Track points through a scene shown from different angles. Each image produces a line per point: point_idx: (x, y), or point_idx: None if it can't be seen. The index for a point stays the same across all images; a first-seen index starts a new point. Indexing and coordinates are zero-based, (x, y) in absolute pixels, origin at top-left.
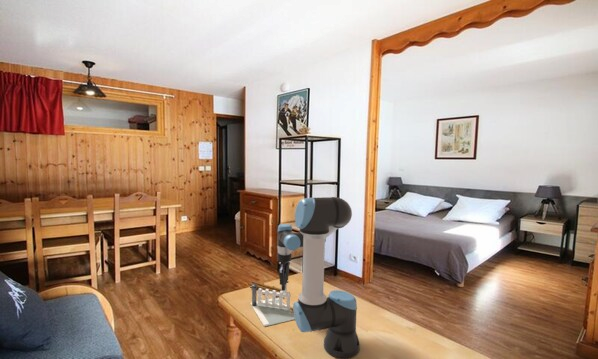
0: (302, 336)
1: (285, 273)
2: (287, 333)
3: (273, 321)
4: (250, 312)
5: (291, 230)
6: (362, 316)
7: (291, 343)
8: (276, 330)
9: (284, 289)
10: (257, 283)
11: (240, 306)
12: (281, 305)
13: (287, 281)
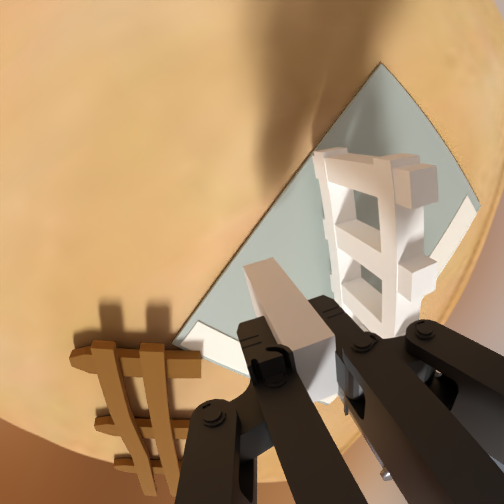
0: (460, 17)
1: (501, 490)
2: (477, 82)
3: (449, 185)
4: None
5: None
6: None
7: (498, 55)
8: (481, 138)
9: (321, 303)
10: (152, 482)
11: None
12: (357, 221)
13: (256, 378)
